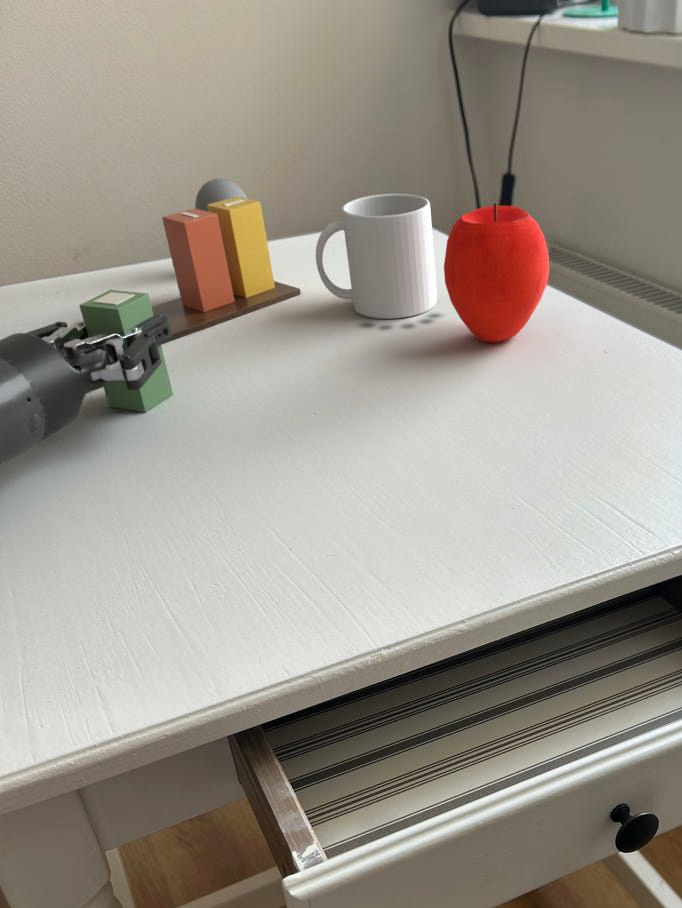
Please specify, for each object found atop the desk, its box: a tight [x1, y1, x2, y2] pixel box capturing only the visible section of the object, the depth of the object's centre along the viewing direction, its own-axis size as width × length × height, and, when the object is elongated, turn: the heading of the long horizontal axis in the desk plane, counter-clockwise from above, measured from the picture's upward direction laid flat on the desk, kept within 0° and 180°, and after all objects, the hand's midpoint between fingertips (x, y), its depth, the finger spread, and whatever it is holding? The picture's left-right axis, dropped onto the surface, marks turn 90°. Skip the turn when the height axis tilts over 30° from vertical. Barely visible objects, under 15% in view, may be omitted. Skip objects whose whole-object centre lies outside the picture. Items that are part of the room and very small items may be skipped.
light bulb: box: [194, 178, 248, 212], centre depth 113 cm, size 6×6×10 cm
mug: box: [315, 193, 438, 320], centre depth 101 cm, size 11×10×10 cm
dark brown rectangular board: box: [151, 280, 302, 343], centre depth 105 cm, size 9×20×1 cm, turn 138°
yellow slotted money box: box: [207, 197, 275, 298], centre depth 105 cm, size 4×4×9 cm
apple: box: [443, 202, 550, 343], centre depth 91 cm, size 10×10×12 cm
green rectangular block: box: [79, 289, 174, 413], centre depth 84 cm, size 4×4×9 cm
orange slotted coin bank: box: [161, 207, 234, 312], centre depth 102 cm, size 4×4×9 cm
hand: (143, 323), depth 85 cm, fingers closed on green rectangular block, 4 cm apart
